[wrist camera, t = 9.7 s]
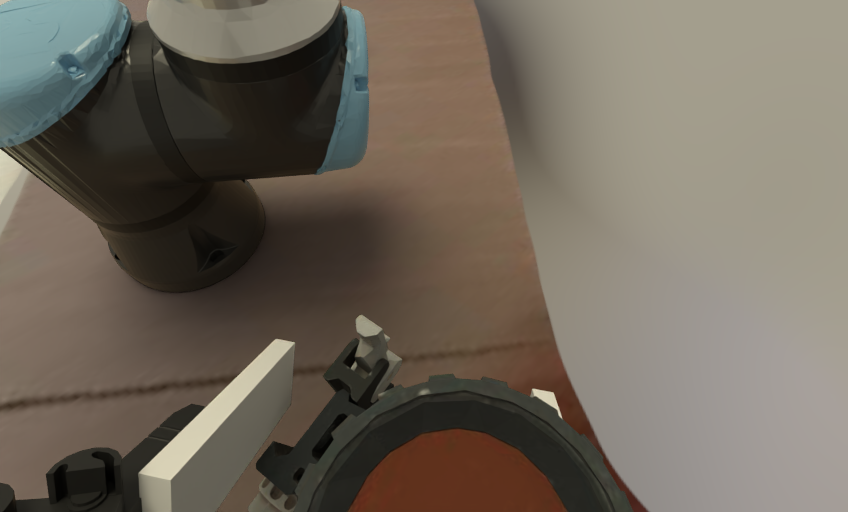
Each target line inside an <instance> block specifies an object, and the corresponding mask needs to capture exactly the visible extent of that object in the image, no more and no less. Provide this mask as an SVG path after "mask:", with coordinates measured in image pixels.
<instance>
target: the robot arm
mask: <svg viewBox="0 0 848 512" xmlns="http://www.w3.org/2000/svg"><path fill="white" fill-rule="evenodd" d="M147 18H148V21H134V20H132V19H131V14H130V12H129V10H128V8H127V7H126V6H125V5H124V4H123V3H121V2H120V1H119V0H10V1H8V2H6V3H4V4H2V5H0V149H1V150H3V151H4V152H5V153H7V154H8V155H9V156H10V157H12V158H13V159H14V160H16V161H17V162H18V163H19V164H21V165H22V166H23V167H25V168H26V169H27V170H28V171H30V172H31V173H32V174H34V175H35V176H36V177H37V178H39V179H40V180H41V181H43V182H44V183H45V184H46V185H48V186H49V187H50V188H52V189H53V190H54V191H56V192H57V193H58V194H59V195H61V196H62V197H63V198H65V199H66V200H67V201H68V202H70V203H71V204H72V205H74V206H75V207H76V208H77V209H79V210H80V211H81V212H83V213H84V214H85V215H86V216H88V217H89V218H90V219H91V220H93V221H94V222H95V223H96V224H97V225H98V228H99V229H100V231H101V233H102V235H103V237H104V238H105V239H106V240H107V241H108V245H109V249H110V251H111V254H112V256H113V257H114V259H115V261H116V262H117V264H118V265H119V266H120V267H121V268H122V269H123V270H124V271H125V272H126V273H128V274H129V275H131V276H132V277H133V278H135V279H136V280H137V281H139V282H140V283H142V284H144V285H146V286H148V287H150V288H153V289H156V290H160V291H167V292H185V291H192V290H197V289H200V288H204V287H207V286H210V285H212V284H214V283H217V282H219V281H221V280H222V279H224V278H226V277H228V276H229V275H231V274H232V273H234V272H235V271H236V270H237V269H239V268H240V267H241V266H242V265H243V264H244V263H245V262H246V261H247V260H248V259H249V258H250V256H251V255H252V254H253V252H254V251H255V249H256V248H257V246H258V244H259V242H260V240H261V237H262V235H263V231H264V225H265V214H264V209H263V206H262V204H261V201H260V200H259V198H258V196H257V194H256V192H255V190H254V189H253V187H252V186H251V185H250V183H249V182H248V181H247V180H246V179H258V178H271V177H284V176H297V175H310V174H314V175H320V174H322V173H324V172H326V171H333V170H339V169H345V168H351V167H353V166H355V165H357V164H358V163H359V162H360V161H361V160H362V159H363V157H364V155H365V152H366V149H367V142H368V128H369V90H368V86H367V84H368V48H367V36H366V27H365V22H364V18H363V15H362V14H361V13H360V12H359V11H358V10H353V9H351V8H347V6H343V7H341V0H149V3H148V7H147ZM294 353H295V342H290V341H285V340H280V339H275V340H274V341H273V342H272V343H271V344H270V345H269V346H268V347H267V348H266V349H265V350H264V351H263V352H262V353H261V354H260V355H259V356H258V357H257V358H256V359H255V360H254V361H253V362H252V363H251V364H249V365H248V366H247V367H246V368H245V369H244V370H243V371H242V372H241V373H240V374H239V375H238V376H237V377H236V378H235V379H234V380H233V381H232V382H231V383H230V384H229V385H228V386H227V387H226V388H225V389H224V390H223V391H222V392H221V393H220V394H219V395H218V396H217V397H216V398H215V399H214V400H213V401H212V402H211V403H210V404H209V405H208V406H207V407H204V406H200V405H195V404H191V405H189V406H187V407H185V408H183V409H181V410H179V411H177V412H175V413H173V414H172V415H171V416H170V417H169V418H168V419H167V420H165V421H164V422H163V423H162V424H161V425H160V427H159V428H157V429H155V430H154V431H153V432H152V433H151V434H150V435H149V437H148V438H145V439H144V440H143V441H142V442H141V443H140V444H139V445H137V446H136V447H135V448H134V449H133V450H132V451H131V452H130V453H128V454H127V455H126V456H125V457H124V458H123V459H122V457H121V456H120V454H119V453H118V451H116V450H113V449H110V448H91V449H87V450H82V451H79V452H77V453H75V454H72V455H70V456H67V457H66V458H64V459H63V460H61V461H60V462H58V463H57V464H55V465H54V466H53V467H52V468H51V469H50V470H49V471H48V473H47V474H46V478H47V486H48V493H49V498H43V499H28V500H15V494H14V490H13V489H12V488H11V487H10V486H9V485H8V484H3V483H0V512H216V510H217V509H218V508H219V506H220V505H221V503H222V502H223V500H224V499H225V498H226V496H227V495H228V493H229V492H230V490H231V489H232V488H233V486H234V485H235V483H236V482H237V480H238V479H239V478H240V476H241V475H242V473H243V472H244V471H245V469H246V468H247V466H248V465H249V463H250V462H251V461H252V459H253V458H254V456H255V455H256V453H257V452H258V451H259V449H260V448H261V446H262V445H263V443H264V442H265V441H266V439H267V438H268V436H269V435H270V433H271V432H272V431H273V429H274V428H275V426H276V425H277V423H278V422H279V421H280V419H281V418H282V416H283V415H284V414H285V412H286V411H287V409H288V408H289V406H290V405H291V396H292V381H293V367H294ZM534 396H536V397H538V398H539V399H541V400H543V401H544V402H546V403H547V404H549V405H550V406H552V407H554V408H555V409H557V410H558V415H559V416H560V417H561V414H560V411H559V408H558V405H557V402H556V399H555V396H554V393H553V392H547V391H542V390H537V389H532V392H531V396H530V397H532V398H533V397H534ZM561 418H562V417H561Z"/></svg>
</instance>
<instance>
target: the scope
mask: <svg viewBox="0 0 848 512" xmlns="http://www.w3.org/2000/svg"><path fill="white" fill-rule="evenodd" d="M356 328H357V332H358V334H359V336H360V341H359V340H358V339H357V338H355V339H354V340H352V341H351V342H350V343H349V344H348V345H347V347H346V348H345V349H344V350H343V352H342V353H341V354H340V355H339V357H338V358H337V359H336V360H335V362H334V363H333V364H332V365H331V367H330V368H329V369H328V370H327V372H326V373H325V374H324V375H323V377H324V378H325V380H326V381H327V382H328V383H329V384H330V386H331V387H332V388H333V389H334V390H335V392H336V394H335V395H334V396H333V398H332V399H331V400H330V401H329V403H328V404H327V405H326V407H325V408H324V409H323V411H322V412H321V413H320V414H319V416H318V417H317V418H316V420H315V421H314V422H313V424H312V425H311V426H310V427H309V429H308V430H307V431H306V433H305V434H304V435H303V437H302V438H301V439H300V440H299V442H298V443H297V444H296V446H295V447H291V446H287V445H284V444H281V443H278V442H275V441H273V442H272V443H271V445H270V446H269V447H268V449H267V450H266V451H265V452H264V454H263V455H262V456H261V458H260V459H259V460H258V461H257V463H256V469H257V470H258V471H259V472H260V473H262V474H263V475H264V476H265V478H264V480H263V481H262V482H261V484H260V485H259V490H260V492H259V493H258V495H257V496H256V497H255V499H254V500H253V501H252V502H251V504H250V505H249V506H248V510H249V512H633V510H632V508H631V505H630V503H629V501H628V499H627V497H626V494H625V492H624V491H620V489H619V488H618V486H617V484H616V483H615V481H614V479H613V478H612V476H611V475H610V473H609V471H608V470H607V468H606V466H605V465H604V463H603V456H602V455H601V454H600V453H599V452H598V450H597V449H596V448H595V447H594V446H593V444H592V443H591V442H590V441H589V440H588V438H587V437H586V436H585V435H584V434H582V435H579V434H578V433H577V432H576V431H575V430H574V429H573V428H572V427H571V426H569V425H568V424H567V423H566V422H565V421H564V420H563V419H562V418H561V417H560V416H559V415H558V410H557V409H555V408H554V407H552V406H550V405H549V404H547V403H546V402H544V401H543V400H541V399H539V398H538V397H536V396H534V397H533V398H532V397H530V396H527V395H525V394H522V393H520V392H518V391H515V390H513V389H511V388H508V385H507V383H506V382H502V381H499V380H495V379H491V378H487V377H482V379H481V380H470V379H457V378H455V376H454V375H453V374H445V375H435V376H429V381H428V382H425V383H421V384H418V385H414V386H411V387H407V388H403V387H402V386H401V384H400V385H398V386H396V387H394V385H393V384H392V383H390V382H391V381H392V379H393V378H394V377H395V375H396V373H397V372H398V370H399V368H400V366H401V364H402V359H401V358H399V357H398V356H397V355H395V354H394V353H392V352H391V351H389V350H388V348H387V342H388V341H389V339H390V338H389V337H388V336H387V335H385V334H384V332H383V329H382V328H380V327H379V326H377V325H376V324H374V323H373V322H371V321H370V320H369V319H367V318H366V317H364V316H363V315H360V316H358V318H357V319H356ZM355 360H356V362H355V363H354V361H355ZM353 363H354V365H353ZM352 365H353V366H352Z"/></svg>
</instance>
